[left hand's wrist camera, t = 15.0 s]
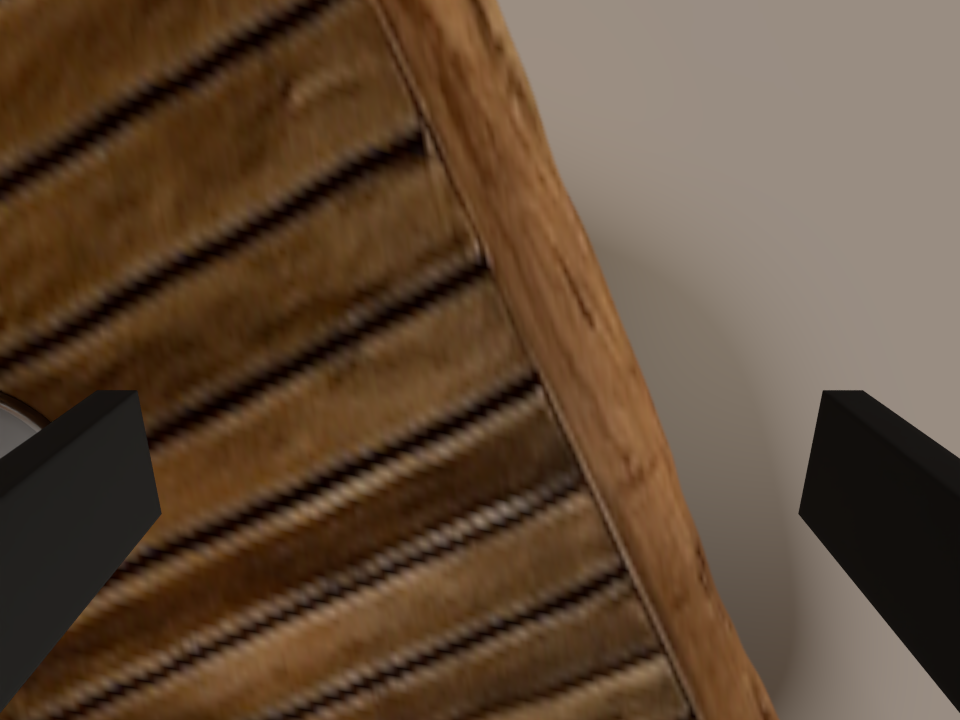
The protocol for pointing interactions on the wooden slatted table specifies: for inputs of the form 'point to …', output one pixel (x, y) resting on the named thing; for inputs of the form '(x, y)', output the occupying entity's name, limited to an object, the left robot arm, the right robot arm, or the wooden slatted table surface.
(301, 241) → the wooden slatted table surface
